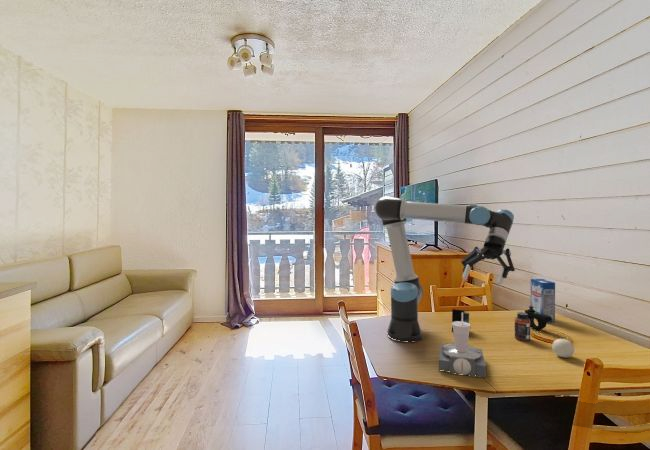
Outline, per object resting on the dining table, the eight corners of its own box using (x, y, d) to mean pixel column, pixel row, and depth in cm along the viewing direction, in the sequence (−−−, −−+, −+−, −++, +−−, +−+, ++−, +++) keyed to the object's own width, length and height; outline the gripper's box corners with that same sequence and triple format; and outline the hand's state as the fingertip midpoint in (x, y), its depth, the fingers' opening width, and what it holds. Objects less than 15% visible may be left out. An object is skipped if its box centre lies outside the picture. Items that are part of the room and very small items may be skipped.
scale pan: (442, 357, 117) (442, 354, 117) (442, 343, 129) (442, 341, 129) (482, 362, 113) (482, 360, 113) (479, 348, 125) (479, 345, 125)
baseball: (577, 357, 126) (578, 340, 126) (569, 362, 122) (569, 344, 122) (557, 351, 132) (558, 334, 132) (549, 355, 128) (549, 338, 128)
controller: (529, 325, 162) (529, 304, 162) (553, 333, 151) (553, 311, 150) (522, 326, 161) (522, 305, 161) (546, 334, 149) (546, 312, 149)
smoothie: (462, 355, 117) (462, 315, 116) (447, 348, 122) (447, 311, 122) (474, 351, 120) (474, 313, 119) (459, 345, 125) (459, 308, 125)
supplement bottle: (532, 342, 141) (532, 315, 141) (517, 341, 143) (517, 315, 142) (527, 336, 147) (527, 311, 147) (512, 336, 149) (512, 311, 148)
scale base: (438, 372, 116) (438, 355, 116) (440, 353, 131) (439, 339, 131) (486, 379, 111) (486, 361, 110) (481, 359, 126) (481, 343, 125)
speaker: (463, 334, 151) (463, 311, 152) (451, 331, 155) (451, 309, 156) (471, 331, 156) (471, 309, 156) (459, 329, 160) (459, 307, 161)
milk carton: (554, 322, 166) (555, 282, 165) (542, 322, 166) (542, 282, 165) (542, 316, 176) (542, 278, 175) (530, 316, 176) (530, 278, 175)
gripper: (531, 248, 133) (518, 291, 123) (469, 244, 151) (453, 282, 142) (526, 235, 129) (512, 280, 119) (463, 233, 147) (447, 271, 138)
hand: (480, 281), depth 131 cm, fingers open, 13 cm apart
